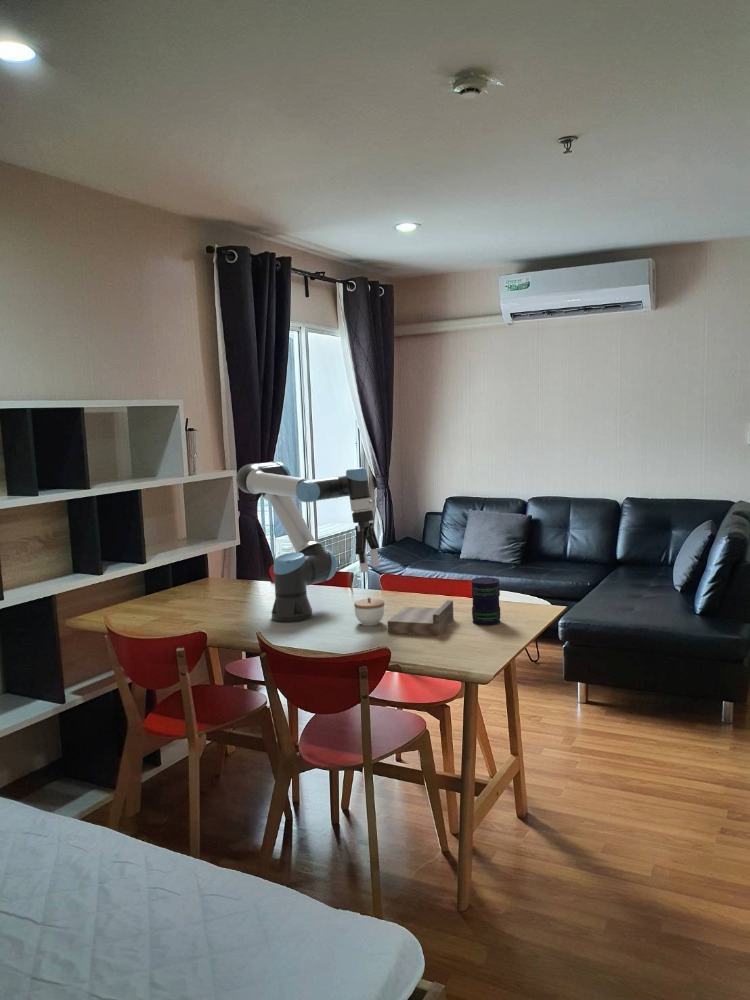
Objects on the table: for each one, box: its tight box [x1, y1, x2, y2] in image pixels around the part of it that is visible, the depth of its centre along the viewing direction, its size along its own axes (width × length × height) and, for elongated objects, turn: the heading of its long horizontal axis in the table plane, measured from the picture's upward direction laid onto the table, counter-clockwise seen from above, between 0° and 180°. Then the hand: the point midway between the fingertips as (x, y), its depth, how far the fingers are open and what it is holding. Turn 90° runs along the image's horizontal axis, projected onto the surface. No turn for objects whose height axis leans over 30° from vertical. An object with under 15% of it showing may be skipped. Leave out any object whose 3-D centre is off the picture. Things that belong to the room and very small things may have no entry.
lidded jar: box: [354, 597, 385, 627], centre depth 273 cm, size 11×11×9 cm
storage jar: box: [470, 576, 501, 627], centre depth 268 cm, size 10×10×15 cm
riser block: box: [387, 600, 455, 636], centre depth 267 cm, size 18×20×7 cm
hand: (370, 569), depth 277 cm, fingers open, 13 cm apart
